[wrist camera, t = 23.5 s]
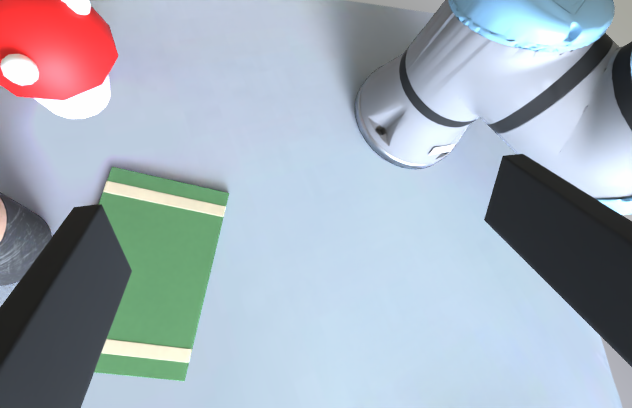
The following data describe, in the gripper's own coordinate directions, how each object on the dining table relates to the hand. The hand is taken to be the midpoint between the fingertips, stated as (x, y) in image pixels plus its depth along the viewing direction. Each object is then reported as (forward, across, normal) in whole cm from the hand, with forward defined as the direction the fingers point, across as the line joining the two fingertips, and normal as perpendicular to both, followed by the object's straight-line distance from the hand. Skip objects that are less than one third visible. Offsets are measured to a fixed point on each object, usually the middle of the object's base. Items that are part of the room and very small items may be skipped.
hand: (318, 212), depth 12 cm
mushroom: (+32, -21, -3) cm, 38 cm away
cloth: (+18, -14, -17) cm, 29 cm away
